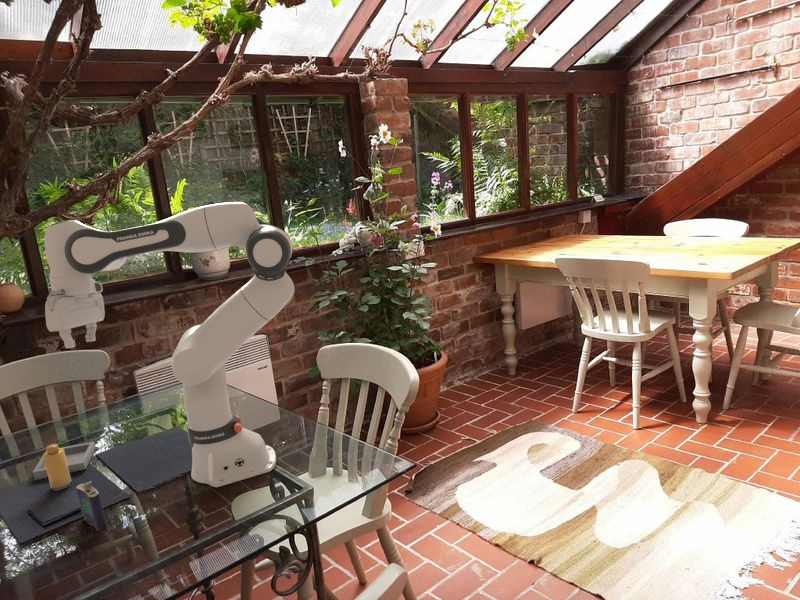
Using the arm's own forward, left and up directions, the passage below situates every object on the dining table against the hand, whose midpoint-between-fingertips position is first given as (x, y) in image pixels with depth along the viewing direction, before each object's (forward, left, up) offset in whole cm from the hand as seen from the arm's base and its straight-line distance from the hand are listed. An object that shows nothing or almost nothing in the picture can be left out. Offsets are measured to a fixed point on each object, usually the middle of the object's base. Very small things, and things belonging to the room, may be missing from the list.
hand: (81, 344), depth 148 cm
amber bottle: (+14, -7, -40) cm, 43 cm away
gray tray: (+16, -20, -40) cm, 48 cm away
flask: (+1, +15, -40) cm, 43 cm away
